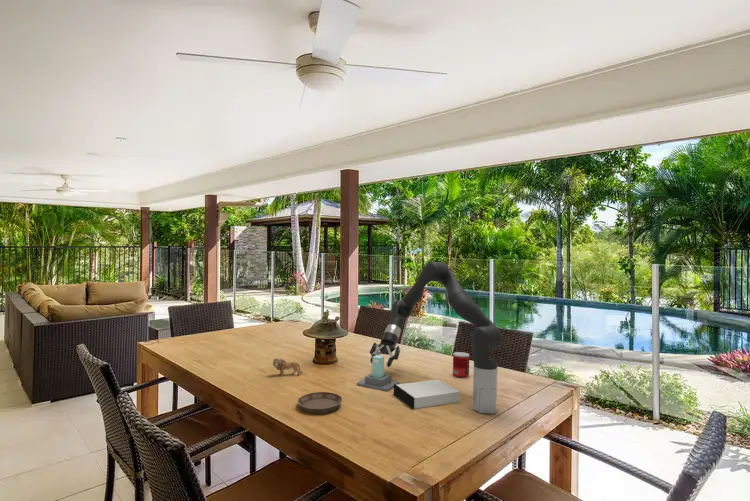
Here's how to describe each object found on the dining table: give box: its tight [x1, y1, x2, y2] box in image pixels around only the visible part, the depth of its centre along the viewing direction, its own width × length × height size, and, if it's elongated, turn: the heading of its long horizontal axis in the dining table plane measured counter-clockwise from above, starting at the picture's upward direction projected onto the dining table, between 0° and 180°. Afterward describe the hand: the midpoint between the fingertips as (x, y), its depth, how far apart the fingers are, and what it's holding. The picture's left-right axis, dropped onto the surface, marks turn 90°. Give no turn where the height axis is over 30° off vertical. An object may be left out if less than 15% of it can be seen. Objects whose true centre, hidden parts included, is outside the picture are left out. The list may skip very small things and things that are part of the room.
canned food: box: [452, 351, 470, 379], centre depth 213 cm, size 8×8×11 cm
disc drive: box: [393, 378, 461, 410], centre depth 181 cm, size 18×22×5 cm
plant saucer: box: [297, 391, 343, 414], centre depth 169 cm, size 18×18×3 cm
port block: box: [356, 373, 400, 392], centre depth 197 cm, size 16×12×4 cm
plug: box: [371, 355, 385, 379], centre depth 197 cm, size 4×4×12 cm
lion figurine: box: [272, 357, 303, 378], centre depth 208 cm, size 15×5×9 cm, turn 111°
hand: (379, 364), depth 198 cm, fingers open, 8 cm apart
